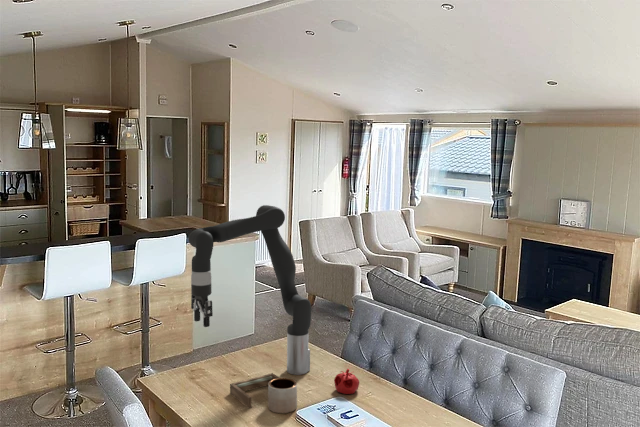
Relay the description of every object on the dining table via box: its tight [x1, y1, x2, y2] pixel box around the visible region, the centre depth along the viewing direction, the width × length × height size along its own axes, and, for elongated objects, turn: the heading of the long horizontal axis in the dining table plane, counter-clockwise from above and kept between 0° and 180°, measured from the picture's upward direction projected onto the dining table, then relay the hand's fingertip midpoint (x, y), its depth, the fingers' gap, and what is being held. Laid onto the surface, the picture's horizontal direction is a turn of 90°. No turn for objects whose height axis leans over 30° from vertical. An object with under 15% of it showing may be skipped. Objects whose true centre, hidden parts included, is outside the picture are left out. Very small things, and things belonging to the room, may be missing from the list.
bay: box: [229, 372, 280, 409], centre depth 223 cm, size 19×15×4 cm
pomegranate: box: [333, 368, 360, 395], centre depth 227 cm, size 10×10×9 cm
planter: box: [267, 377, 298, 415], centre depth 211 cm, size 11×11×10 cm
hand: (201, 323), depth 217 cm, fingers open, 8 cm apart
